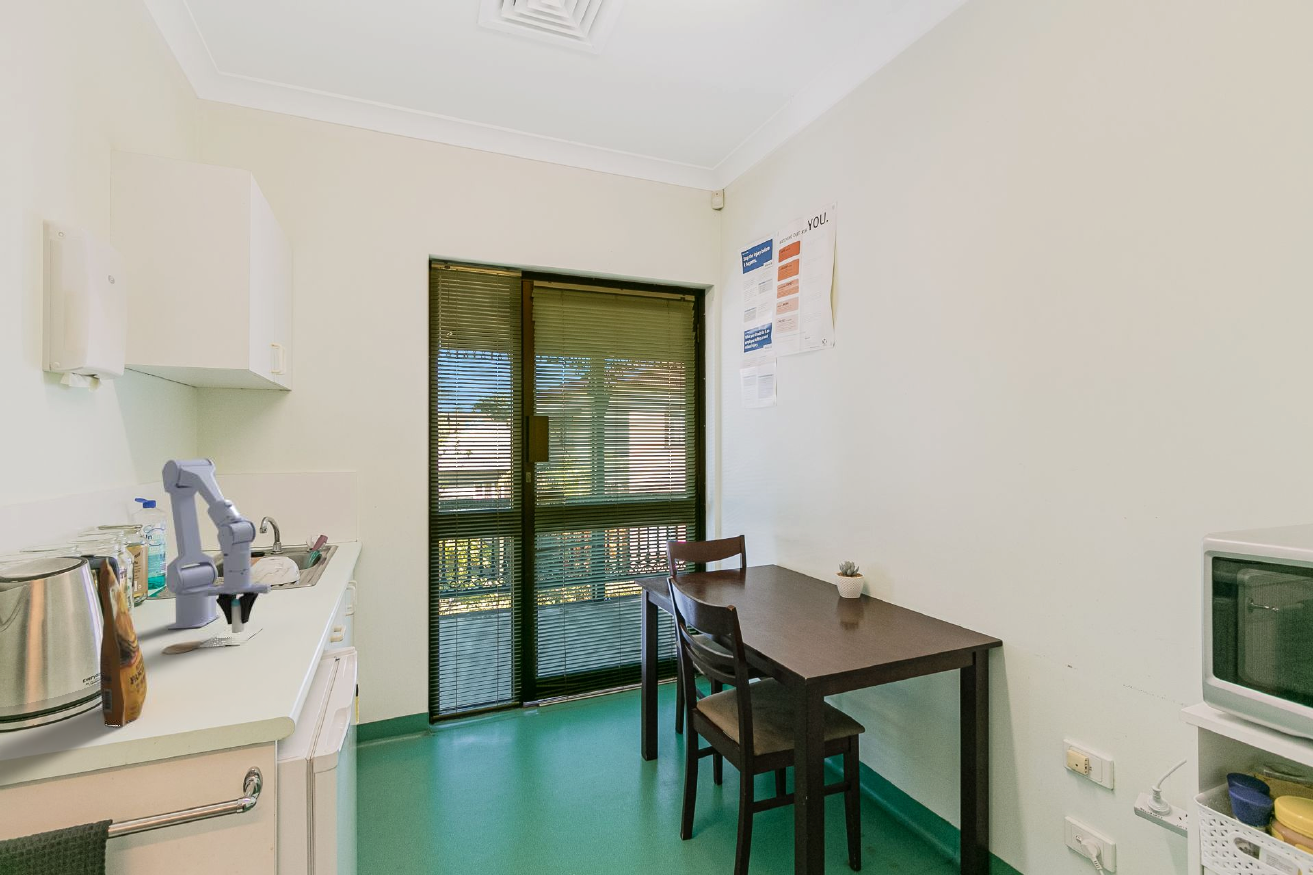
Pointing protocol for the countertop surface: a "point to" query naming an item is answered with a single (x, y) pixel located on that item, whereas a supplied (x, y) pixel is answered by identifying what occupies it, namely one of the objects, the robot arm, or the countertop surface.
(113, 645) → the pancake mix bag
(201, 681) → the countertop surface
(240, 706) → the countertop surface
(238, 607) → the marker
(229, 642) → the paper
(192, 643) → the coaster
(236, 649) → the countertop surface
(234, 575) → the robot arm
